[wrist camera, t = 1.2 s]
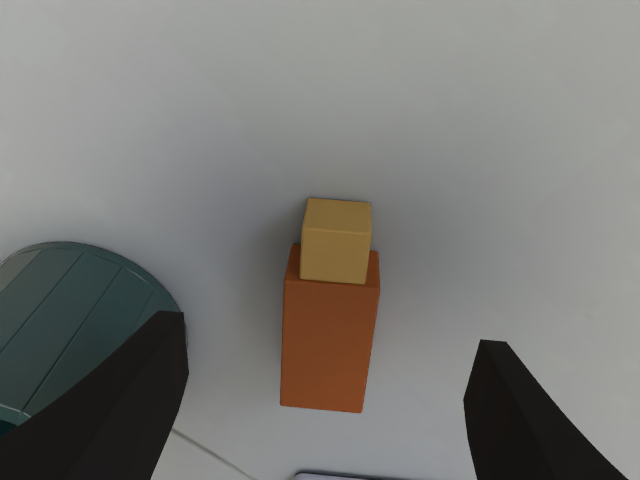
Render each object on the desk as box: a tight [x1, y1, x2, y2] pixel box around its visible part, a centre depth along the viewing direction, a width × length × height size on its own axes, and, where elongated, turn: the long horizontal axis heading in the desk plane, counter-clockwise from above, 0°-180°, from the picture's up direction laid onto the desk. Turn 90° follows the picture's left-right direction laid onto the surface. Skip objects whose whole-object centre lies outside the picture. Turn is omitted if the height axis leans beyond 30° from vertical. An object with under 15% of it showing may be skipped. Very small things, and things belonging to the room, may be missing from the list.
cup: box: [0, 242, 188, 437], centre depth 19 cm, size 8×8×8 cm
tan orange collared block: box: [280, 198, 380, 413], centre depth 20 cm, size 8×3×2 cm, turn 176°
